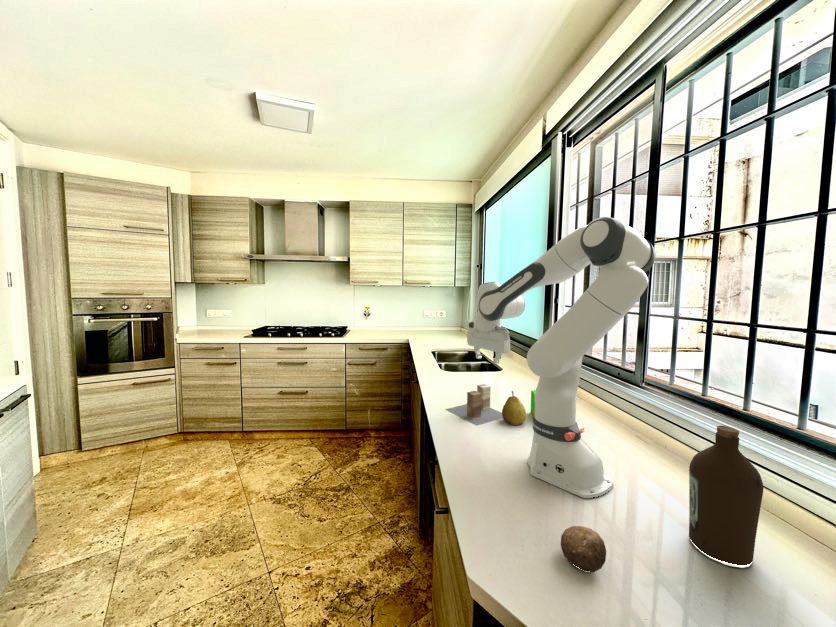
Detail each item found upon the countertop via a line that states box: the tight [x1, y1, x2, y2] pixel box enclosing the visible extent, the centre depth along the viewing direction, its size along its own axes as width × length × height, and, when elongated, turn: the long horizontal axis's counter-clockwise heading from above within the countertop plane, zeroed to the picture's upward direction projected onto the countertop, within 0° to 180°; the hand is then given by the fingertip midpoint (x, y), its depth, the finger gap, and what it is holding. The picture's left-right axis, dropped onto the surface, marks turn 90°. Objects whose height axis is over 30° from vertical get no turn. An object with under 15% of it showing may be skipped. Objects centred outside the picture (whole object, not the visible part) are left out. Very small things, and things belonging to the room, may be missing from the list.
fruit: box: [501, 390, 527, 426], centre depth 127 cm, size 9×9×12 cm
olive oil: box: [688, 425, 764, 565], centre depth 64 cm, size 11×11×25 cm
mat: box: [445, 403, 503, 426], centre depth 137 cm, size 20×18×1 cm
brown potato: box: [560, 525, 607, 573], centre depth 63 cm, size 8×8×6 cm
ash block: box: [476, 383, 491, 411], centre depth 142 cm, size 4×4×10 cm
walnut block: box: [466, 390, 481, 419], centre depth 132 cm, size 4×4×10 cm
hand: (487, 360), depth 125 cm, fingers open, 8 cm apart
